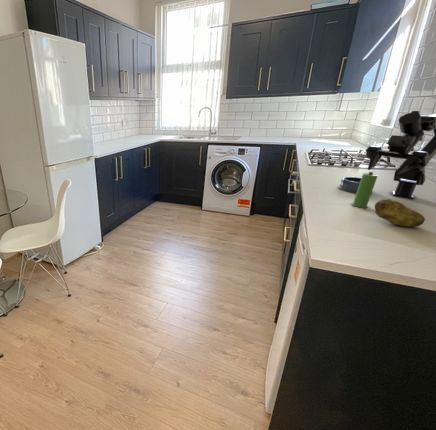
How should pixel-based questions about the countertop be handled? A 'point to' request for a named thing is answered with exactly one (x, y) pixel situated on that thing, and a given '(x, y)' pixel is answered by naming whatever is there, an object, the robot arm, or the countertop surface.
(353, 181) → the blue bowl
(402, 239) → the countertop surface
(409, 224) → the potato
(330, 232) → the countertop surface
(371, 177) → the courgette
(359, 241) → the countertop surface
